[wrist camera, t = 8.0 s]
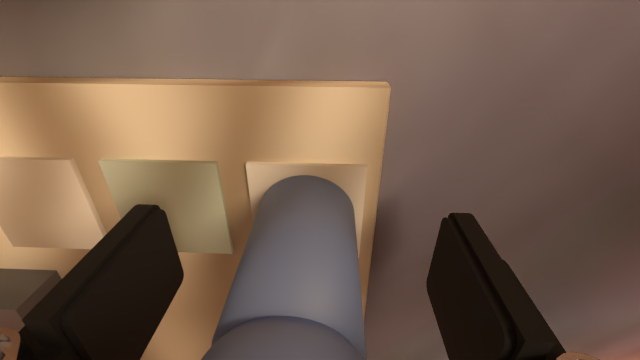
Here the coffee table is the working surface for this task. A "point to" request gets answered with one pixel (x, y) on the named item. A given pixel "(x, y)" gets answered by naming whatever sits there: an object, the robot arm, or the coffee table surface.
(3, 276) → the frame
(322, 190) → the pawn
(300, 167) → the board
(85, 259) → the robot arm
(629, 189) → the coffee table surface
